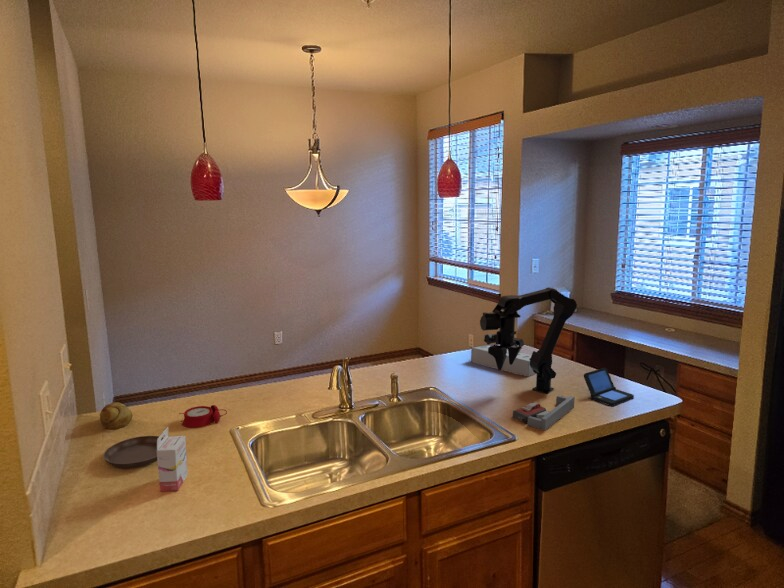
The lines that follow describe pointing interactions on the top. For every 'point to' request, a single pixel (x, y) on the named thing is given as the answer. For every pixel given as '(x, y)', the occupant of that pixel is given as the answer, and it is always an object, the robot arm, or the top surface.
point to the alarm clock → (201, 416)
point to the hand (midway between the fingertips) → (505, 367)
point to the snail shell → (115, 416)
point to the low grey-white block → (518, 366)
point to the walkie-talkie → (529, 412)
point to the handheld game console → (604, 388)
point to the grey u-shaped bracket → (553, 413)
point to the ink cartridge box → (171, 461)
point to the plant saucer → (133, 452)
